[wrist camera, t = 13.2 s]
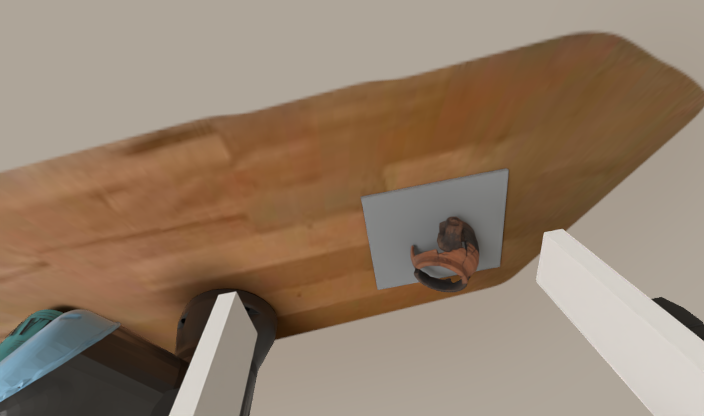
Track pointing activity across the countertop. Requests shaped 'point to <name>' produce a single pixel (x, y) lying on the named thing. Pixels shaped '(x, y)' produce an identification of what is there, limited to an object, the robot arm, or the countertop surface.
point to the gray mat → (433, 223)
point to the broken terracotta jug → (449, 256)
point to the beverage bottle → (27, 331)
